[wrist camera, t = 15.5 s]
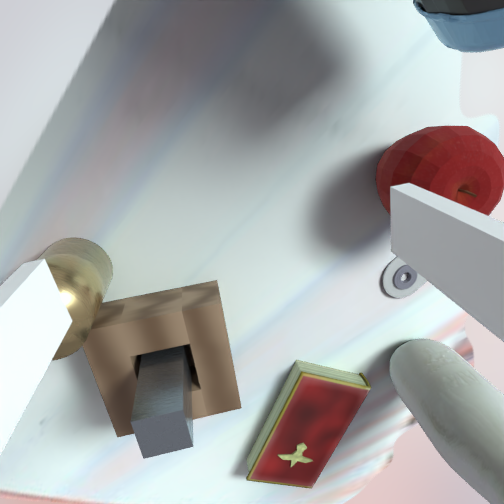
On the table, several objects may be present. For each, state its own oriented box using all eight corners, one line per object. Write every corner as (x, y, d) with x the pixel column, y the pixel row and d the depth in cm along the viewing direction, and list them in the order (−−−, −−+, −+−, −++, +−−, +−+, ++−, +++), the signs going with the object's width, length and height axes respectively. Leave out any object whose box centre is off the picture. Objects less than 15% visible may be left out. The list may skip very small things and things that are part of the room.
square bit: (183, 328, 49) (183, 409, 36) (190, 359, 50) (193, 446, 38) (144, 336, 48) (130, 422, 35) (154, 367, 50) (143, 458, 37)
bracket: (371, 274, 52) (384, 285, 49) (429, 227, 51) (446, 235, 48) (394, 303, 54) (407, 315, 51) (450, 259, 53) (467, 269, 50)
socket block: (217, 280, 48) (221, 303, 42) (235, 377, 54) (241, 408, 49) (90, 305, 46) (77, 332, 41) (124, 402, 52) (117, 437, 47)
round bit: (101, 232, 43) (73, 275, 32) (120, 291, 46) (100, 350, 35) (30, 244, 42) (-24, 294, 31) (54, 304, 45) (12, 368, 34)
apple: (454, 123, 45) (553, 131, 33) (432, 215, 50) (513, 252, 38) (362, 119, 43) (432, 125, 31) (348, 215, 48) (404, 254, 35)
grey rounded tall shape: (441, 321, 57) (653, 500, 31) (433, 374, 61) (615, 573, 35) (380, 330, 55) (550, 525, 30) (376, 384, 59) (522, 598, 34)
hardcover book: (361, 371, 58) (374, 390, 55) (306, 467, 64) (314, 490, 61) (294, 355, 55) (302, 374, 51) (242, 458, 61) (246, 482, 57)
